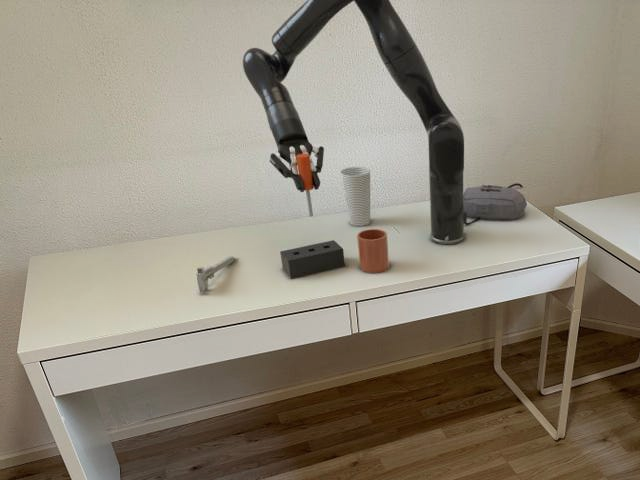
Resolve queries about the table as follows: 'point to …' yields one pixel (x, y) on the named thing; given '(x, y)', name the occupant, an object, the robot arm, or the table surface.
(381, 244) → the pen cup
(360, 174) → the cup
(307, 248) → the holder
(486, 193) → the soft grey pack
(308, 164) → the orange screwdriver
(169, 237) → the table surface
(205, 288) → the caliper
